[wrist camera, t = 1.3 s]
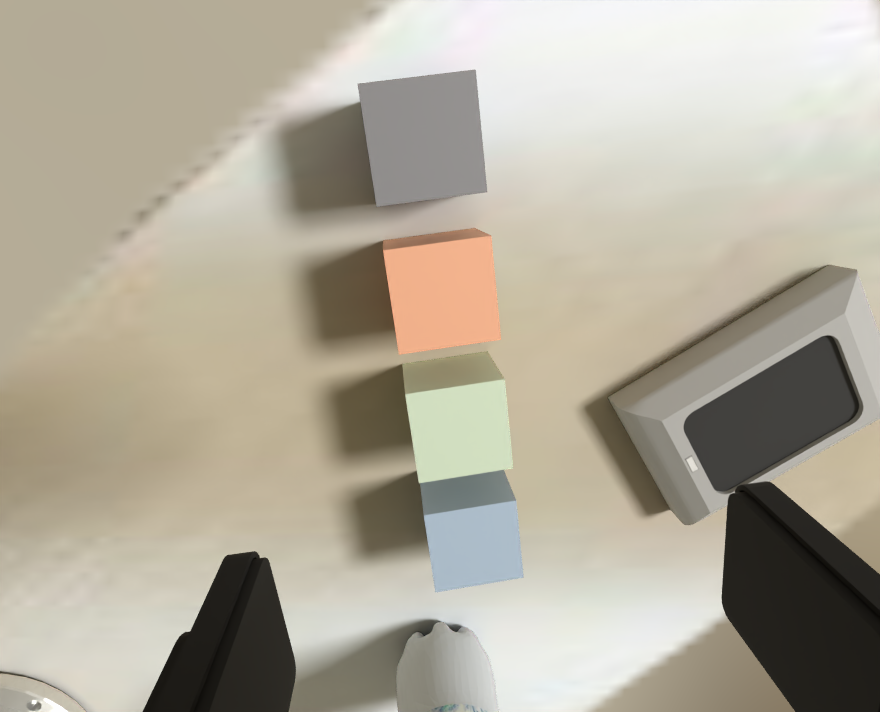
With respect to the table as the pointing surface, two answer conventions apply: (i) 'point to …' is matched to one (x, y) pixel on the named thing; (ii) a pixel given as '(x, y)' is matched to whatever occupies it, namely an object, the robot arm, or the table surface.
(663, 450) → the gray dark-screened device
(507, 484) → the slate-blue block
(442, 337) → the terracotta block
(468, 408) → the sage-green block
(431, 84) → the gray block
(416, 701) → the bottle
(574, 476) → the table surface
